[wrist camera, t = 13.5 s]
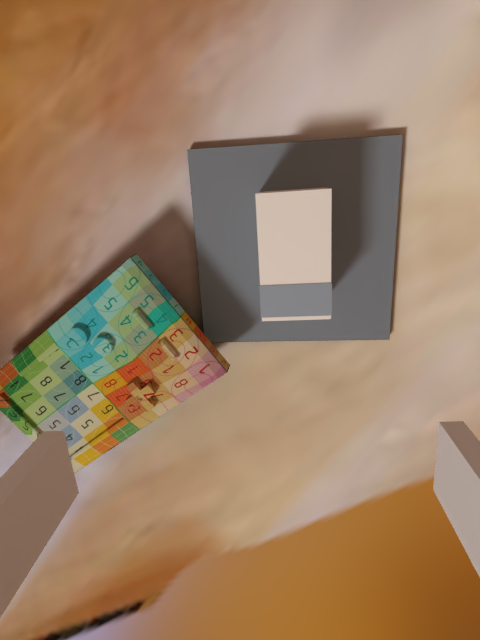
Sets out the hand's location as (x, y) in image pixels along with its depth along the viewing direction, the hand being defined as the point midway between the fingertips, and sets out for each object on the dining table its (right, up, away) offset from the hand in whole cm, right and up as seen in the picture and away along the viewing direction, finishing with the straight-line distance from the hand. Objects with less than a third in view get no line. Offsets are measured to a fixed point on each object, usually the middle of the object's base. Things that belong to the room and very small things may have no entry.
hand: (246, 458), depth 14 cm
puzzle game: (-12, +1, +24) cm, 27 cm away
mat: (+4, +11, +19) cm, 22 cm away
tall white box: (+4, +11, +19) cm, 22 cm away
